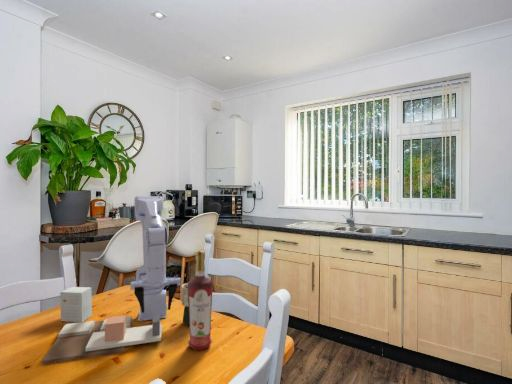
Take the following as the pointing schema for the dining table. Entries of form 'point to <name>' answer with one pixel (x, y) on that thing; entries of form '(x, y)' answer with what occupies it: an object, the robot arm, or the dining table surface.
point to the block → (115, 328)
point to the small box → (76, 304)
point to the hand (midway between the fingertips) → (156, 309)
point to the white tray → (128, 336)
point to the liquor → (200, 306)
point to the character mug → (185, 302)
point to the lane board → (79, 342)
